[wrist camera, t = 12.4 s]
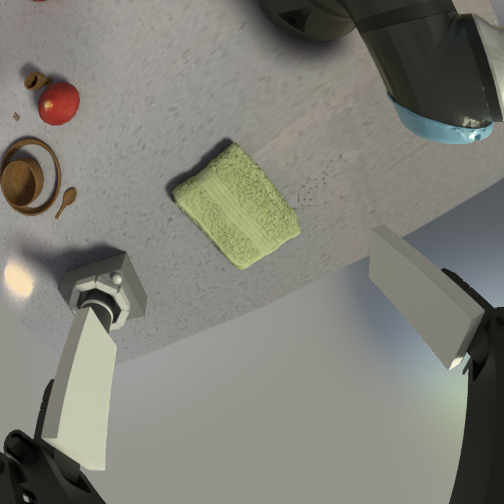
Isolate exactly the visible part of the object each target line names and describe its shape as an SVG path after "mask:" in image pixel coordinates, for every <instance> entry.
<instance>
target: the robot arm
mask: <svg viewBox="0 0 504 504" xmlns="http://www.w3.org/2000/svg"><path fill="white" fill-rule="evenodd" d="M260 2H261V5H262V7H263V9H264V11H265V12H266V14H267V15H268V16H269V18H270V19H271V20H272V21H273V22H274V23H275V24H276V25H277V26H279V27H280V28H281V29H283V30H284V31H286V32H288V33H289V34H291V35H293V36H296V37H298V38H301V39H305V40H309V41H329V40H333V39H336V38H339V37H342V36H344V35H346V34H348V33H349V32H351V31H352V30H353V29H354V28H355V27H356V28H357V30H358V32H359V34H360V36H361V37H362V39H363V41H364V43H365V45H366V47H367V48H368V50H369V52H370V54H371V56H372V59H373V61H374V63H375V65H376V67H377V69H378V71H379V73H380V76H381V78H382V80H383V82H384V85H385V87H386V89H387V95H388V97H389V99H390V100H391V102H392V103H393V104H394V106H395V109H396V111H397V113H398V115H399V118H400V120H401V121H402V123H403V124H404V126H405V127H406V128H408V129H409V130H411V131H412V132H413V133H414V134H416V135H418V136H420V137H422V138H425V139H428V140H431V141H435V142H440V143H448V144H466V143H472V142H474V139H476V140H482V139H484V138H486V137H487V136H489V134H490V133H491V132H492V129H493V125H494V122H504V26H495V25H491V24H490V23H488V22H487V21H486V20H484V19H483V18H481V17H480V16H478V15H477V14H475V13H470V14H458V12H457V11H456V9H455V6H454V4H453V2H452V0H260ZM369 277H370V278H371V280H372V281H373V282H374V283H375V284H376V285H377V286H378V287H379V289H380V290H381V291H382V292H383V293H384V294H385V295H386V296H387V297H388V298H389V299H390V301H391V302H392V303H393V304H394V305H395V307H396V308H397V309H398V310H399V311H400V312H401V313H402V315H403V316H404V317H405V318H406V319H407V320H408V322H409V323H410V324H411V325H412V326H413V328H414V329H415V330H416V331H417V332H418V334H419V335H420V336H421V337H422V338H423V340H424V341H425V342H426V343H427V344H428V346H429V347H430V348H431V349H432V351H433V352H434V353H435V354H436V356H437V357H438V358H439V359H440V361H441V362H442V363H443V365H444V366H445V367H446V368H447V370H450V369H452V368H453V367H455V366H456V365H458V364H459V363H461V362H462V360H463V358H464V356H465V354H466V352H467V353H468V354H469V355H470V356H471V357H470V359H469V360H468V362H467V364H466V366H465V368H464V369H463V373H462V374H465V373H466V371H467V369H468V368H469V372H468V397H467V409H466V420H465V428H464V436H463V443H462V449H461V455H460V460H459V465H458V470H457V475H456V479H455V483H454V487H453V491H452V495H451V498H450V502H449V504H504V307H497V308H494V307H492V306H491V305H490V304H489V303H488V302H487V301H486V300H485V299H484V298H483V297H482V296H481V295H479V294H478V293H477V292H476V291H475V290H474V289H473V288H472V287H471V288H470V286H469V285H468V284H467V283H466V282H464V281H463V279H461V278H460V277H459V276H458V275H457V274H456V273H454V272H452V271H450V270H447V269H445V268H443V269H441V270H439V268H437V267H436V266H435V265H434V264H433V263H431V262H430V261H429V260H428V259H427V258H425V257H424V256H423V255H422V254H420V253H419V252H418V251H417V250H416V249H414V248H413V247H412V246H410V245H409V244H408V243H407V242H405V241H404V240H403V239H402V238H400V237H399V236H398V235H396V234H395V233H394V232H392V231H391V230H390V229H389V228H387V227H386V226H385V225H382V226H379V227H375V228H372V229H371V238H370V268H369ZM116 351H117V347H116V345H115V344H114V342H113V341H112V339H111V338H110V336H109V335H108V333H107V332H106V330H105V329H104V327H103V326H102V324H101V323H100V321H99V320H98V318H97V316H96V315H95V313H94V312H93V310H92V308H91V307H86V308H82V309H79V310H77V312H76V315H75V318H74V320H73V323H72V326H71V329H70V331H69V334H68V337H67V340H66V343H65V346H64V349H63V352H62V355H61V359H60V362H59V366H58V369H57V373H56V376H55V379H52V380H50V382H49V384H48V385H47V387H46V389H45V392H44V395H43V399H42V400H43V402H42V403H41V407H40V409H41V410H40V412H39V415H38V420H37V425H36V429H35V435H34V439H31V438H30V437H29V436H28V435H26V434H25V433H24V432H22V431H20V430H13V431H12V432H10V433H9V434H8V436H7V437H6V439H5V442H4V453H1V452H0V504H106V503H105V502H104V500H103V499H102V498H101V497H100V495H99V494H98V493H97V491H96V490H95V489H94V487H93V486H92V484H91V483H90V482H89V480H88V479H87V477H86V476H85V475H84V474H83V473H82V472H81V471H80V465H82V466H84V467H85V468H87V469H89V470H105V457H106V437H107V423H108V413H109V412H108V411H109V402H110V393H111V385H112V377H113V370H114V364H115V358H116ZM5 454H6V455H7V456H6V455H5ZM8 456H9V457H10V458H9V457H8ZM23 495H25V496H27V497H28V499H29V503H28V502H26V501H24V498H23Z"/></svg>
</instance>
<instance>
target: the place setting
mask: <svg viewBox="0 0 504 504" xmlns="http://www.w3.org/2000/svg"><path fill="white" fill-rule="evenodd" d="M24 84H25V87H26V89H28V90H37V89H40V88H41V87H42V86H43V85H46V86H50V85H51V84H52V79H51V78H48V79H47V78H45V76H44V74H42V73H39V72H31V73H30V74H28V75H27V77H26V79H25V83H24ZM15 114H16V113H15ZM15 114H14V116H15ZM14 116H13V118H14ZM16 116H17V114H16ZM16 116H15V118H16ZM19 117H20V116H19ZM15 118H14V119H15ZM17 118H18V116H17ZM17 118H16V120H17ZM18 120H19V118H18ZM18 120H17V122H18ZM28 144H36V145H39V146H42V147H43V148H45V149H46V150H47V151H48V152H49V153H50V154H51V156H52V157H53V159H54V161H55V164H56V168H57V173H58V181H57V187H56V190H55V193H54V195H53V196H52V198H51V199H50V200H49V201H48V202H47V203H46V204H45V205H43V206H41V207H37V208H30V207H26V206H28V205H29V204H30V203H32V202H33V201H34V200H35V199H36V198H37V197H38V196H39V194H40V193H41V191H42V188H43V183H44V176H43V172H42V169H41V167H40V165H39V164H38V163H37V162H36V161H35V160H33V159H31V158H20V159H17V160H15V161H13V162H11V163H10V160H11V158H12V156H13V155H14V153H15V152H16V151H17V150H18V149H19V148H21V147H23V146H25V145H28ZM9 163H10V164H9ZM0 184H1V189H2V192H3V194H4V197H5V198H6V200H7V202H8V203H9V205H10V206H11V207H12V208H13V209H15V210H16V211H17V212H19V213H21V214H24V215H28V216H35V215H39V214H41V213H43V212H45V211H46V210H47V209H49V208H50V207H51V205H52V204H53V203H54V201H55V200H56V198H57V196H58V193H59V190H60V185H61V170H60V165H59V162H58V159H57V157H56V155H55V154H54V152H53V151H52V149H51V148H50V147H49V146H48V145H46V144H45V143H43V142H42V141H39V140H35V139H25V140H22V141H19V142H17V143H16V144H14V145H13V146H12V147H11V148H10V149H9V150H8V151H7V153H6V155H5V157H4V159H3V161H2V164H1V169H0ZM76 194H77V191H76V190H75V189H74V188H73V189H70V190H68V191H67V192H66V193H65V195H64V199H63V205H62V207H61V209H60V210H59V212H58V213H57V214H56V216H55V218H56V219H58V217H59V216H60V214H61V212H62V211H63V209H64V208H65V207H66V206H67V205H70V204H72V203H73V202H74V201H75V198H76Z"/></svg>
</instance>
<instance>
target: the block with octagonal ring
mask: <svg viewBox="0 0 504 504" xmlns="http://www.w3.org/2000/svg"><path fill="white" fill-rule="evenodd" d="M94 289H100V290H102V291H104V292H107V293H109V294H110V295H111V296H112V297H113V299H114V301H115V309H114V313H113V320H112V323H111V326H110V330H114V329H118V328H121V326H122V327H123V325H124V322H125V320H128V319H133V318H137V317H141V316H145V309H146V301H147V295H146V293H145V291H144V289H143V287H142V285H141V283H140V281H139V279H138V276H137V274H136V272H135V270H134V268H133V265H132V263H131V261H130V259H129V256H128V254H127V252H126V253H122V254H119V255H116V256H113V257H109V258H106V259H103V260H100V261H97V262H93V263H90V264H87V265H84V266H81V267H78V268H75V269H72V270H69V271H67V272H66V273H65V275H64V277H63V279H62V281H61V283H60V284H59V286H58V290H59V292H60V293H61V295H62V297H63V298H64V300H65V302H66V303H67V305H68V306H69V308H70V310H71V311H72V313H73V314H74V316H75V315H76V312H77V310H79V309H81V306H82V304H83V303H84V300H85V298H86V295H87V293H88V292H89V291H91V290H94ZM110 330H109V331H110Z"/></svg>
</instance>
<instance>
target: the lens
mask: <svg viewBox="0 0 504 504" xmlns="http://www.w3.org/2000/svg"><path fill="white" fill-rule="evenodd" d="M86 307H91V308H92V310H93V312H94V313H95V315H96V316H97V318H98V320H99V321H100V323H101V324H102V326H103V327H104V329H105V330H106V332H107V333H108V334H109V330H110V326H111V323H112V320H113V313H114V309H115V301H114V299H113V297H112V296H111V295H110V294H109V293H107V292H104V291H102V290H100V289H94V290H91V291H89V292H88V293H87V295H86V298H85V300H84V303H83V304H82V306H81V309H82V308H86Z"/></svg>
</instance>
